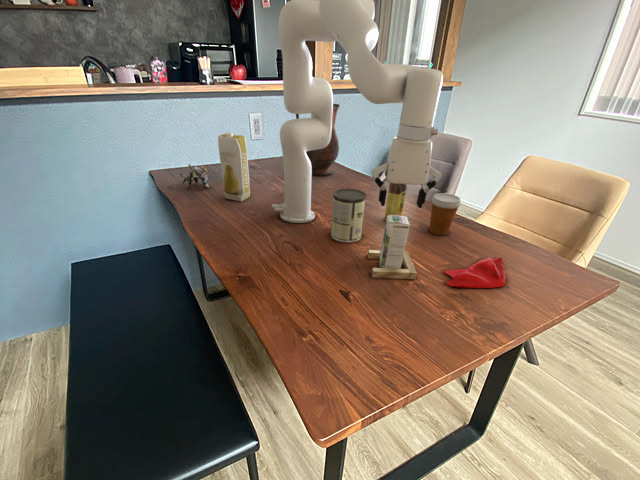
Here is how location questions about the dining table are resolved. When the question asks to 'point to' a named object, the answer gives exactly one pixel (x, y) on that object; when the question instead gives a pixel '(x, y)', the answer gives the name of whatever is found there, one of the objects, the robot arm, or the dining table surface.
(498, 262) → the cloth
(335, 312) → the dining table surface
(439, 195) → the disposable coffee cup
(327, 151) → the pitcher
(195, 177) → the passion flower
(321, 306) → the dining table surface
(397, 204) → the sauce bottle
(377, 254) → the stop frame
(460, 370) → the dining table surface
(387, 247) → the syrup box
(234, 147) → the juice carton
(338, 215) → the coffee can
